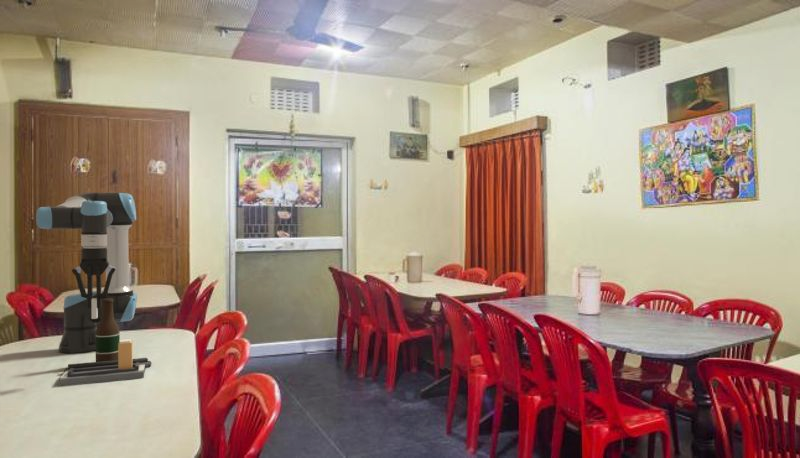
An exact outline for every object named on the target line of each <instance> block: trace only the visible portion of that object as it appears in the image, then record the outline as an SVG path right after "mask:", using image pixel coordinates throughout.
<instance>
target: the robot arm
mask: <svg viewBox="0 0 800 458" xmlns="http://www.w3.org/2000/svg"><path fill="white" fill-rule="evenodd" d="M35 216H36V217H35V219H36V220H35V221H36V225H37V228H39V229H42V230H43V229H44V230H66V229H67V230H80V232H81V233H80V234H81V235H80V237H81V238H80V241H81V243H80V246H81V247H82V248H81V250H80V252H81V253H80V258H81V260H80V263H79V264H78V266H77V267H75V268H73V269H71V272H72V273H73V275H74V276H75V279H76V282H77V286H78V289H79V293H74V294H69V295H67V296H66V297H64V301H63V307H62V308H63V334H62V337H61V339H60V342H59V345H58V352H59V353H63V354H78V353H79V354H80V353H86V352H92V351H96V329H97V327H98V325H97V324H99V323H100V322H101V319H102V308H103V302H102V300H103V299H106V298H112V299H113V316H114V320H115V322H116V323H122V322H130V321H132V320H133V318H134V317H135V313H136V307H137V302H138V301H137V299H138V293H135V292H134V289H133V288H132V287H131V286H130V277H129V276H130V269H129V268H130V267H129V265H130V261H129V257H130V256H129V253H130V252H129V247H130V245H129V229H130V228H131V227H132V226H133V222H135V221H137V211H136V203H135V200H134V197H133V196H132V194H130V193H127V192H126V193H125V192H85V193H80V194H77V195H73V196H70V197H68V198H67V199H66V200H65V201H64V202H63V203H61V204H59V205H56V206H40V207H38V209H37V210H36V215H35ZM82 272H83V273H84V274H85V275H87V276H86V278H87V281H86V282H87V284H86V285H87V289H86V288H85V285H84V281H83V278H82V274H81V273H82ZM104 272H105V285H104V287H103V289H102V275H103V274H104ZM93 276H95V279H96V281H95V284H96V285H95V286H96V290H94V289H93V286H94V285H93V284H94V283H93V280H94V279H93ZM86 290H87V291H86Z"/></svg>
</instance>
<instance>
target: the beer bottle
mask: <svg viewBox="0 0 800 458" xmlns="http://www.w3.org/2000/svg"><path fill="white" fill-rule="evenodd" d="M102 302H103V308H102V319H101V322H100V323H98V325H97V329H96V350H95V362H102V361H114V360H118V344H119V342H120V340H121V339H120V337H121V335H120V327H119V325H118V322H115V320H114V316H113V299H112V298H106V299H103V300H102Z"/></svg>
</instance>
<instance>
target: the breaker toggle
mask: <svg viewBox="0 0 800 458" xmlns="http://www.w3.org/2000/svg"><path fill="white" fill-rule="evenodd" d="M133 359H134V358H133V340H132V339H131V338H129V339H127V338H126V339H120V342H119V344H118V370H119V369H130V368H132V367H133Z"/></svg>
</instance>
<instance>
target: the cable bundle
mask: <svg viewBox="0 0 800 458" xmlns="http://www.w3.org/2000/svg"><path fill="white" fill-rule="evenodd" d="M132 359H133V364H136V362H139V364H145V368H150V367H152V361H151V360H149V359H148V357H141V358H140V357H138V358H132ZM116 365H118V360H114V361H102V362H96V361H94V362H93V361H91V362H80V363H79V362H78V363H68V365H67V367H65V368H64V369H63V374H64V373H65V372H66V371H68V370H70V368H74V369H82V368H93V367H105V366H116Z"/></svg>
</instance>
